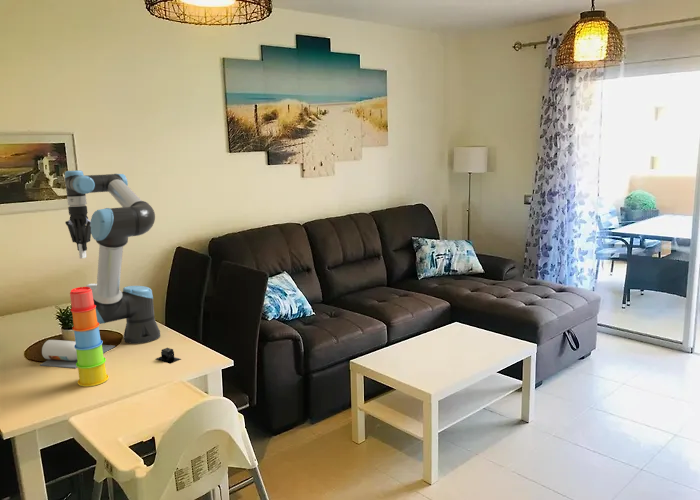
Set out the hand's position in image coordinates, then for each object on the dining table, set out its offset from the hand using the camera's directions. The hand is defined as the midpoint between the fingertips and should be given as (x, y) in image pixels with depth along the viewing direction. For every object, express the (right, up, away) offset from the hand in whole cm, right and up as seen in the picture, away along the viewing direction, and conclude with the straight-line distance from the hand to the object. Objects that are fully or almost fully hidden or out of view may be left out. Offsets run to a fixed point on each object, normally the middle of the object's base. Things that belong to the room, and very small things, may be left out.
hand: (83, 257), depth 253 cm
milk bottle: (0, -36, -30) cm, 47 cm away
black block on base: (+48, -40, -31) cm, 70 cm away
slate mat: (+10, -39, -26) cm, 48 cm away
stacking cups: (+28, -44, -51) cm, 73 cm away
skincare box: (-16, -27, +48) cm, 57 cm away
